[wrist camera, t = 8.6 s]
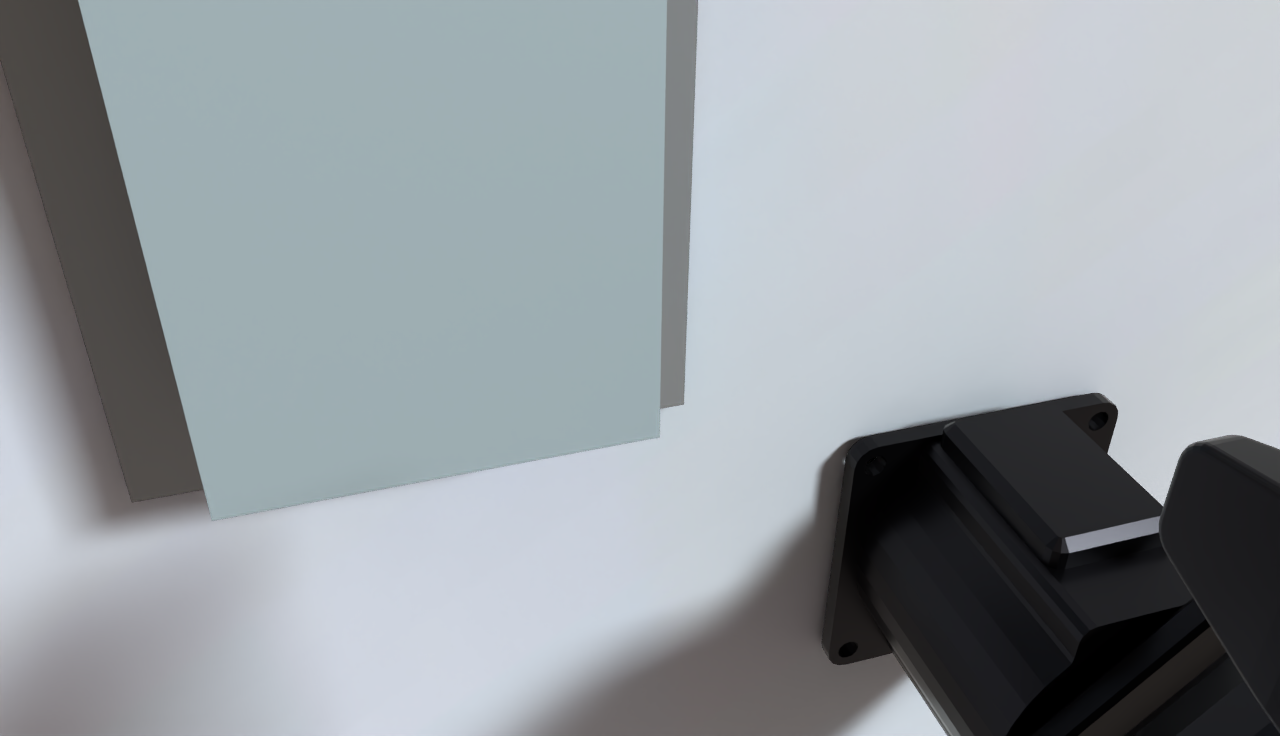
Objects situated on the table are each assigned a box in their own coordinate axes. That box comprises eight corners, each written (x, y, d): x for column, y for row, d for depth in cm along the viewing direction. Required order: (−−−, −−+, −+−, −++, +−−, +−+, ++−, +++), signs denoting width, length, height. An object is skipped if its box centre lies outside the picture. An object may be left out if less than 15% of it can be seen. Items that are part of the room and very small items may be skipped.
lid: (610, 349, 21) (659, 437, 19) (209, 415, 20) (212, 520, 17) (603, -360, 15) (673, -351, 13) (22, -356, 14) (-11, -346, 11)
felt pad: (678, 395, 23) (683, 404, 23) (132, 491, 20) (131, 502, 20) (707, -494, 15) (715, -495, 15) (-166, -522, 13) (-173, -523, 12)
